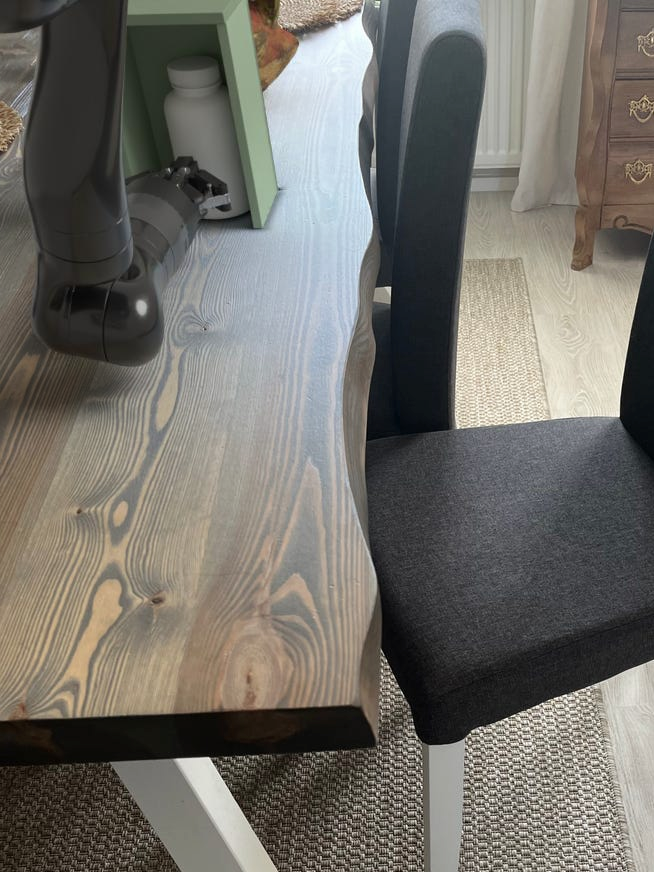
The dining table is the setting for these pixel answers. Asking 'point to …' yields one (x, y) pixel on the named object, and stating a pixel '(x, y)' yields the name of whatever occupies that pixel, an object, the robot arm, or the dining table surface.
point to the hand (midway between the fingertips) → (187, 165)
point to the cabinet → (149, 85)
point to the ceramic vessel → (270, 40)
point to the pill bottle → (205, 126)
